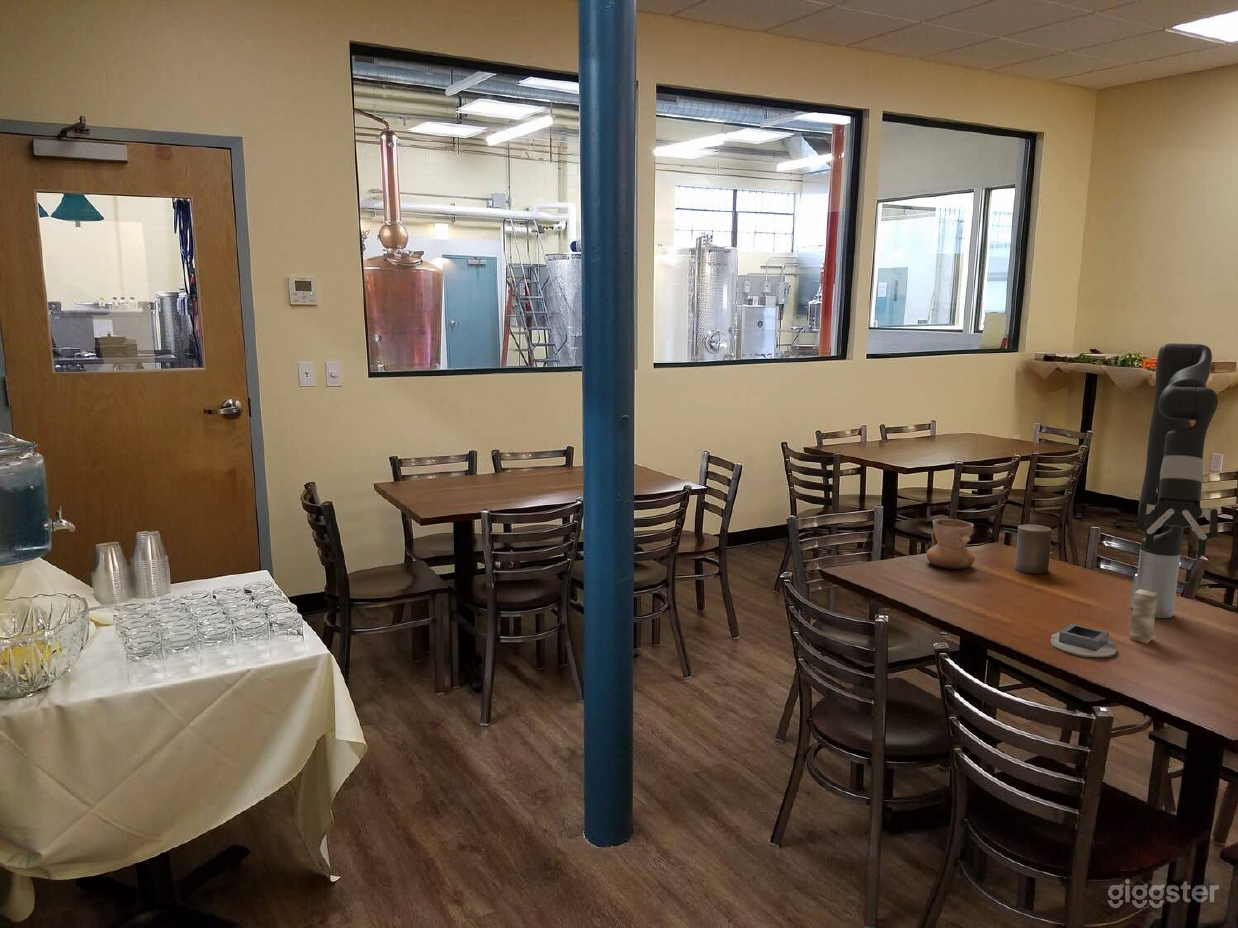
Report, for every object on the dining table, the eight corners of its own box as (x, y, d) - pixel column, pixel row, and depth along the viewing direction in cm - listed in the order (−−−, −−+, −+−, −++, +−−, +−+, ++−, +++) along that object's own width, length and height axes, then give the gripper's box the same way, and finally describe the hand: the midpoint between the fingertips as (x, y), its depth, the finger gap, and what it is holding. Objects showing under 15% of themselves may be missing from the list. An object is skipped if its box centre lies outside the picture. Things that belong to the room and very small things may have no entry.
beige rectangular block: (1129, 638, 215) (1134, 592, 213) (1134, 634, 218) (1139, 589, 215) (1147, 643, 212) (1153, 596, 210) (1152, 639, 215) (1157, 592, 213)
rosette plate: (1041, 645, 210) (1043, 631, 209) (1062, 631, 219) (1064, 617, 219) (1104, 662, 200) (1106, 647, 199) (1123, 647, 209) (1125, 632, 209)
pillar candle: (1055, 573, 268) (1059, 526, 266) (1027, 575, 266) (1032, 527, 264) (1034, 565, 278) (1038, 519, 275) (1007, 566, 275) (1011, 520, 273)
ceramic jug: (986, 572, 269) (989, 527, 267) (943, 574, 266) (947, 529, 264) (953, 557, 286) (956, 515, 284) (913, 559, 283) (916, 516, 281)
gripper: (1219, 485, 182) (1213, 561, 181) (1141, 478, 190) (1134, 552, 188) (1223, 479, 176) (1216, 558, 174) (1141, 473, 183) (1134, 549, 182)
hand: (1173, 555), depth 181 cm, fingers open, 8 cm apart
